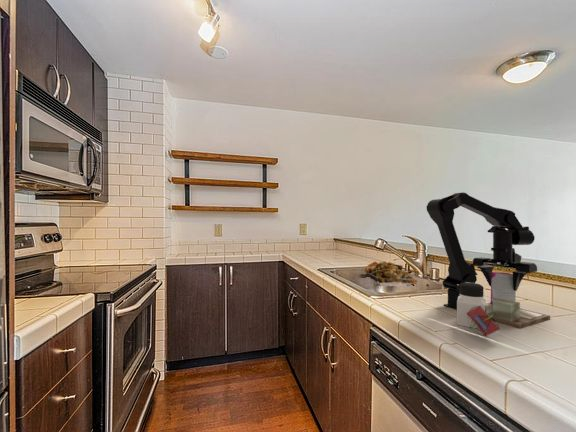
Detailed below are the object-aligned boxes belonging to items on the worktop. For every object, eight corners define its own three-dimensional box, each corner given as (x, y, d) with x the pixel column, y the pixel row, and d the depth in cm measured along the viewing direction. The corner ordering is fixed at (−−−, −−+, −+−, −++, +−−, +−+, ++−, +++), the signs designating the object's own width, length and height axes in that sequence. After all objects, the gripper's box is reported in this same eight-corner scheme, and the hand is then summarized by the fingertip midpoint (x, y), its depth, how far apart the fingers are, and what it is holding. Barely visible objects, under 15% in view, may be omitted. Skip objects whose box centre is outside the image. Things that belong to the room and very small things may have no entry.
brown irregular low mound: (355, 274, 171) (355, 255, 171) (399, 274, 172) (399, 255, 172) (375, 288, 136) (375, 265, 136) (430, 288, 137) (430, 265, 137)
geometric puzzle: (504, 334, 79) (498, 303, 80) (498, 341, 74) (492, 308, 75) (473, 331, 84) (468, 302, 85) (466, 338, 79) (461, 307, 80)
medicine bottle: (486, 330, 84) (486, 287, 84) (456, 325, 87) (456, 284, 87) (485, 322, 90) (485, 282, 90) (458, 318, 93) (458, 280, 94)
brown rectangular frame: (519, 328, 85) (519, 307, 85) (483, 317, 94) (483, 298, 94) (550, 318, 93) (550, 299, 93) (514, 309, 102) (513, 292, 102)
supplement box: (516, 307, 105) (516, 275, 105) (497, 306, 106) (497, 274, 106) (507, 303, 110) (507, 272, 110) (489, 302, 112) (489, 271, 112)
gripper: (545, 246, 104) (545, 291, 104) (488, 242, 120) (488, 281, 120) (528, 247, 99) (528, 295, 98) (471, 243, 115) (471, 284, 115)
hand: (502, 288), depth 108 cm, fingers closed on supplement box, 8 cm apart
